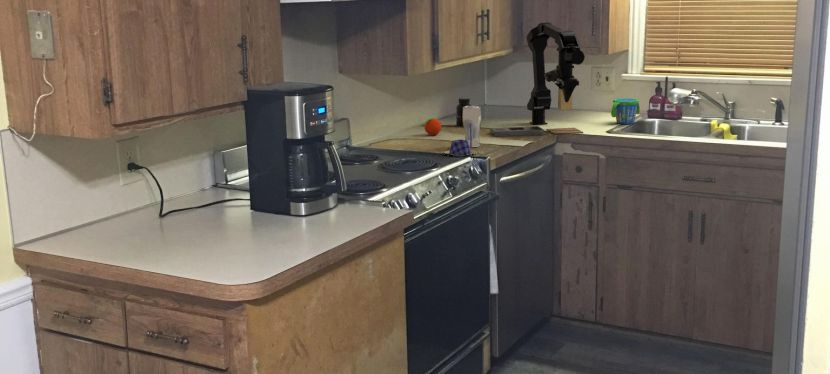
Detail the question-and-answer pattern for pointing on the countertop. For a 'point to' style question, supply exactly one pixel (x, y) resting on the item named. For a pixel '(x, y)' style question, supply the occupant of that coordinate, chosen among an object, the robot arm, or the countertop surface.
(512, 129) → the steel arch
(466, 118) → the beer glass
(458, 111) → the supplement bottle
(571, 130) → the copper pad
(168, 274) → the countertop surface
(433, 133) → the clementine
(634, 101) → the snack cup
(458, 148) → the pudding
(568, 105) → the wood grain block
